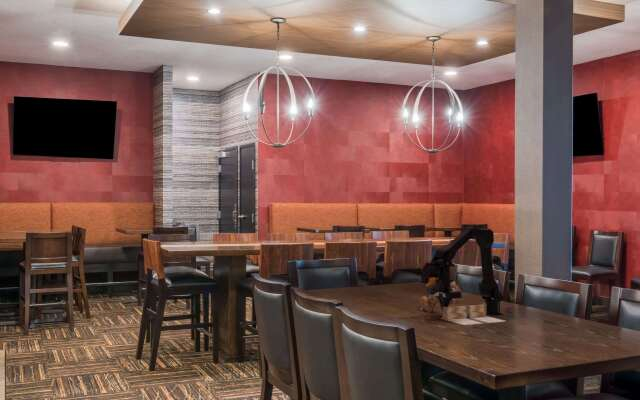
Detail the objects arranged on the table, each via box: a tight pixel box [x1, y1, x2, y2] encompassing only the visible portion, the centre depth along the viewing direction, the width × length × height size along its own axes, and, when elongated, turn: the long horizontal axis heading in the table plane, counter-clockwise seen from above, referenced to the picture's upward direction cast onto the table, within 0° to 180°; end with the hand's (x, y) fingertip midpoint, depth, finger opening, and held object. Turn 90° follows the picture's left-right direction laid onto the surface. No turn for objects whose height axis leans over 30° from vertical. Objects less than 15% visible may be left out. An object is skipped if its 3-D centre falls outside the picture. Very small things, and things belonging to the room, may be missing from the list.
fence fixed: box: [469, 302, 487, 318], centre depth 310 cm, size 9×2×6 cm, turn 114°
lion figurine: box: [416, 294, 439, 314], centre depth 327 cm, size 15×5×9 cm, turn 34°
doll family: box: [425, 277, 461, 304], centre depth 357 cm, size 21×10×13 cm, turn 34°
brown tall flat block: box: [442, 304, 470, 321], centre depth 305 cm, size 13×2×6 cm, turn 114°
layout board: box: [440, 315, 506, 326], centre depth 304 cm, size 22×17×1 cm
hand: (443, 312), depth 307 cm, fingers closed
